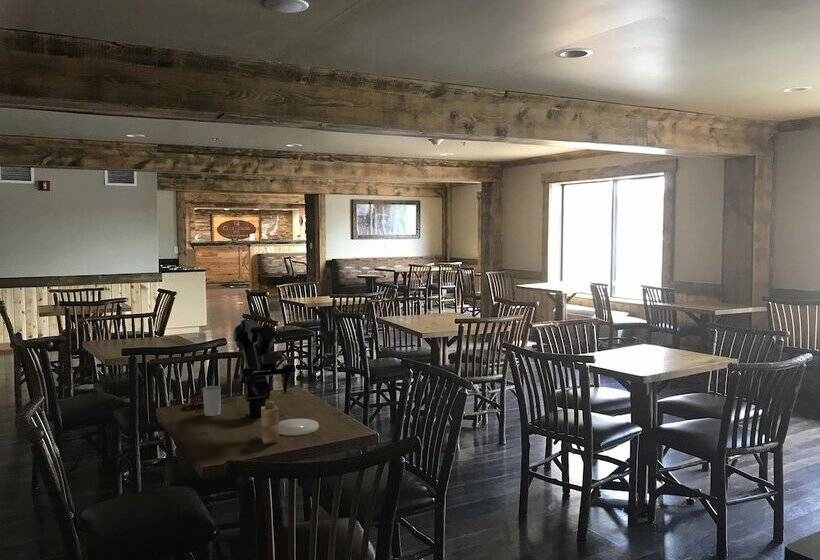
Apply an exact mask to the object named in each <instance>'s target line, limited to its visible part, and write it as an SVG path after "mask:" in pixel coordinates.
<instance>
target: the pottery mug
mask: <svg viewBox="0 0 820 560" xmlns="http://www.w3.org/2000/svg"><path fill="white" fill-rule="evenodd" d="M204 387H205V386H204ZM204 387H201V388H199V389H198V390H196V391H195V392H194V393H193V394H190V395H189V396H188V399H189V404H191V403H193V404H194V405H197V403H198V399H203V388H204Z"/></svg>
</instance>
